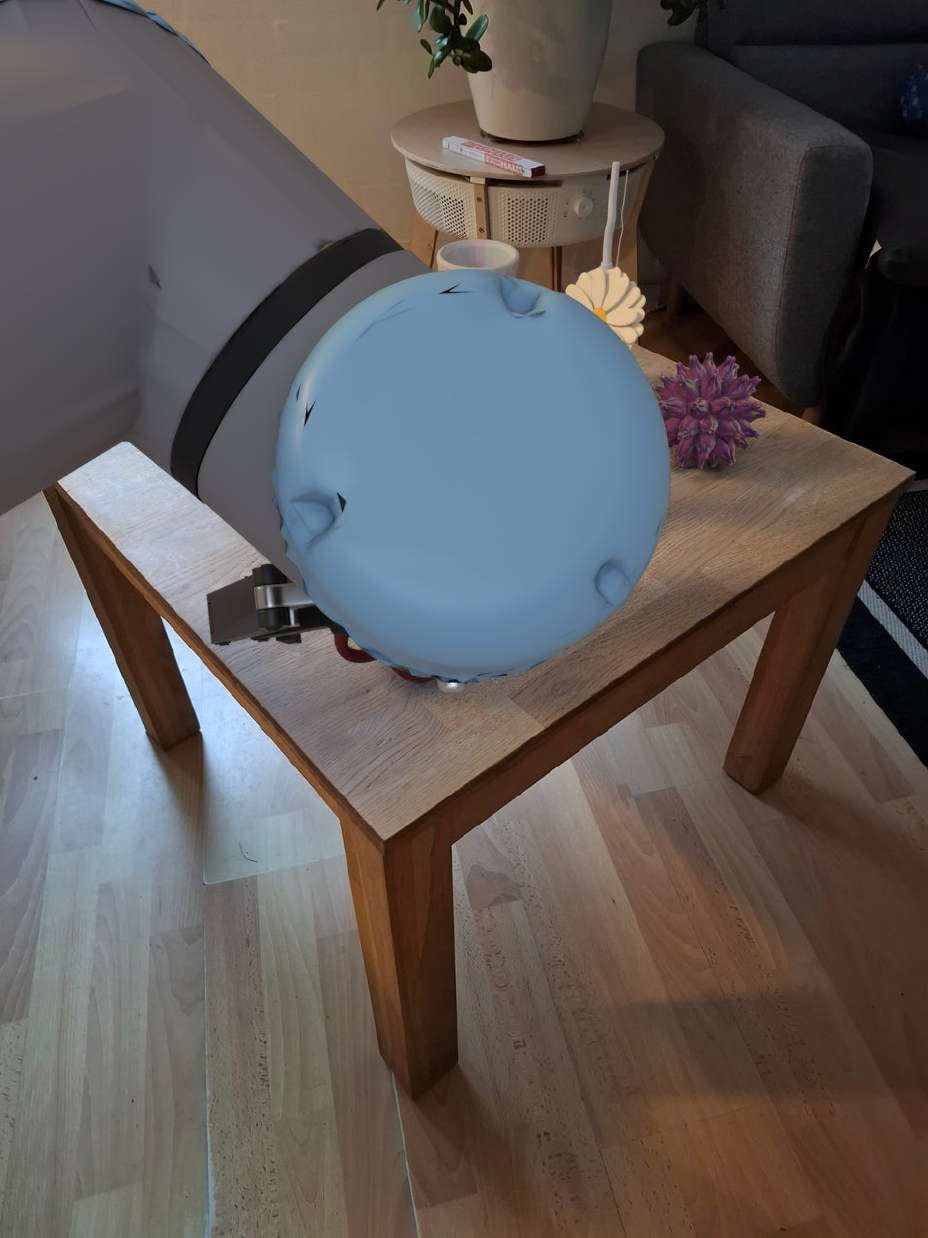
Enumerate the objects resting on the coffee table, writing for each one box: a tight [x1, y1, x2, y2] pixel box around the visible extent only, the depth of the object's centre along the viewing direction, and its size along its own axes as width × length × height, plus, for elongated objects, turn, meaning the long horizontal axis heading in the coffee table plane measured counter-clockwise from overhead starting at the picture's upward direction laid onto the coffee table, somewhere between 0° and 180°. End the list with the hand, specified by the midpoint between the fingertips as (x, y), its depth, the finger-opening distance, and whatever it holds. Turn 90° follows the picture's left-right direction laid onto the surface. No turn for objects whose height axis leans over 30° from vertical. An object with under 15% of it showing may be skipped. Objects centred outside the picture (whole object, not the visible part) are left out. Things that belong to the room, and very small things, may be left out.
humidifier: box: [587, 161, 629, 275], centre depth 94 cm, size 8×8×25 cm
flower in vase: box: [565, 266, 647, 351], centre depth 76 cm, size 13×11×25 cm
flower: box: [653, 351, 768, 472], centre depth 88 cm, size 12×12×12 cm
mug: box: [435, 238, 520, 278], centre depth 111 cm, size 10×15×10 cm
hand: (409, 608), depth 51 cm, fingers open, 13 cm apart
